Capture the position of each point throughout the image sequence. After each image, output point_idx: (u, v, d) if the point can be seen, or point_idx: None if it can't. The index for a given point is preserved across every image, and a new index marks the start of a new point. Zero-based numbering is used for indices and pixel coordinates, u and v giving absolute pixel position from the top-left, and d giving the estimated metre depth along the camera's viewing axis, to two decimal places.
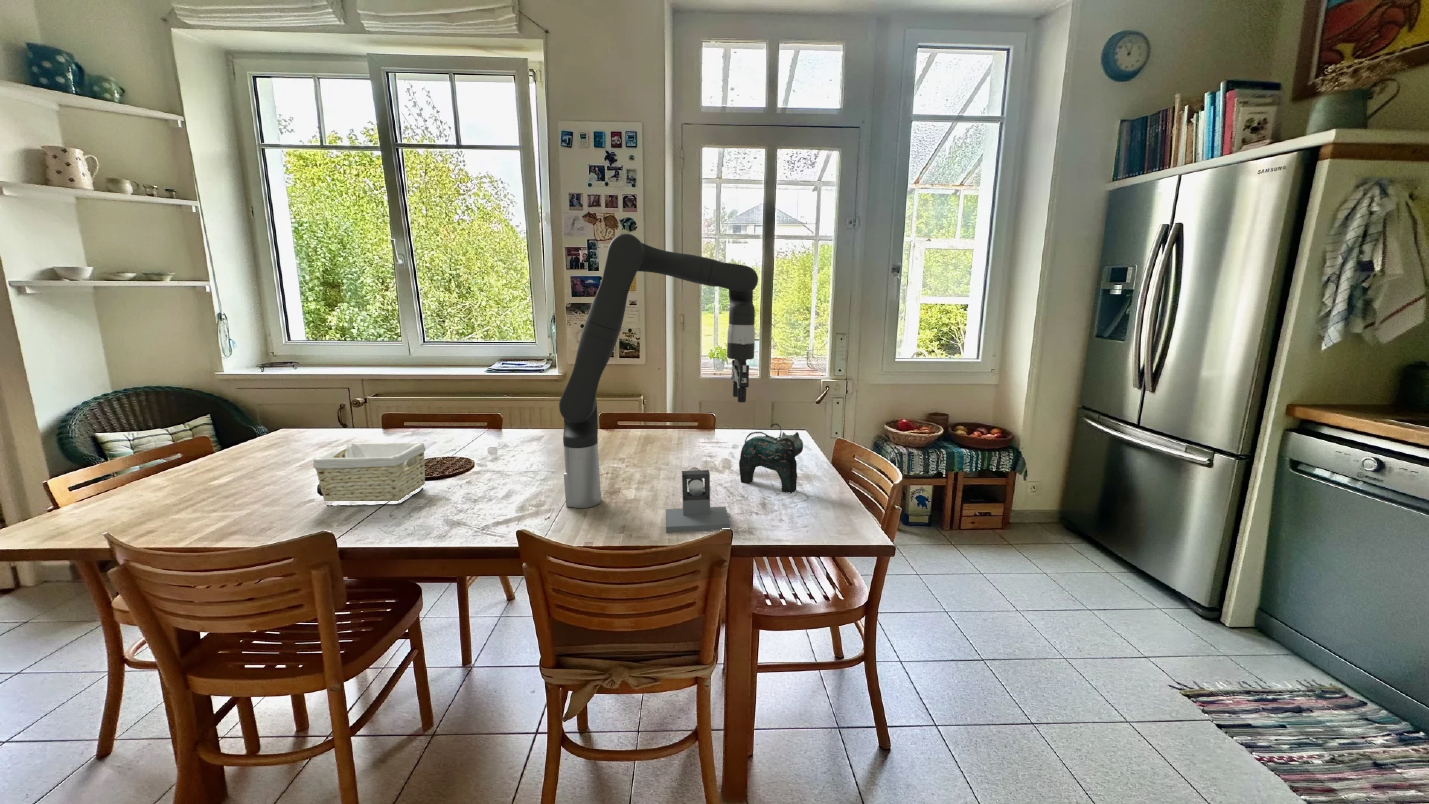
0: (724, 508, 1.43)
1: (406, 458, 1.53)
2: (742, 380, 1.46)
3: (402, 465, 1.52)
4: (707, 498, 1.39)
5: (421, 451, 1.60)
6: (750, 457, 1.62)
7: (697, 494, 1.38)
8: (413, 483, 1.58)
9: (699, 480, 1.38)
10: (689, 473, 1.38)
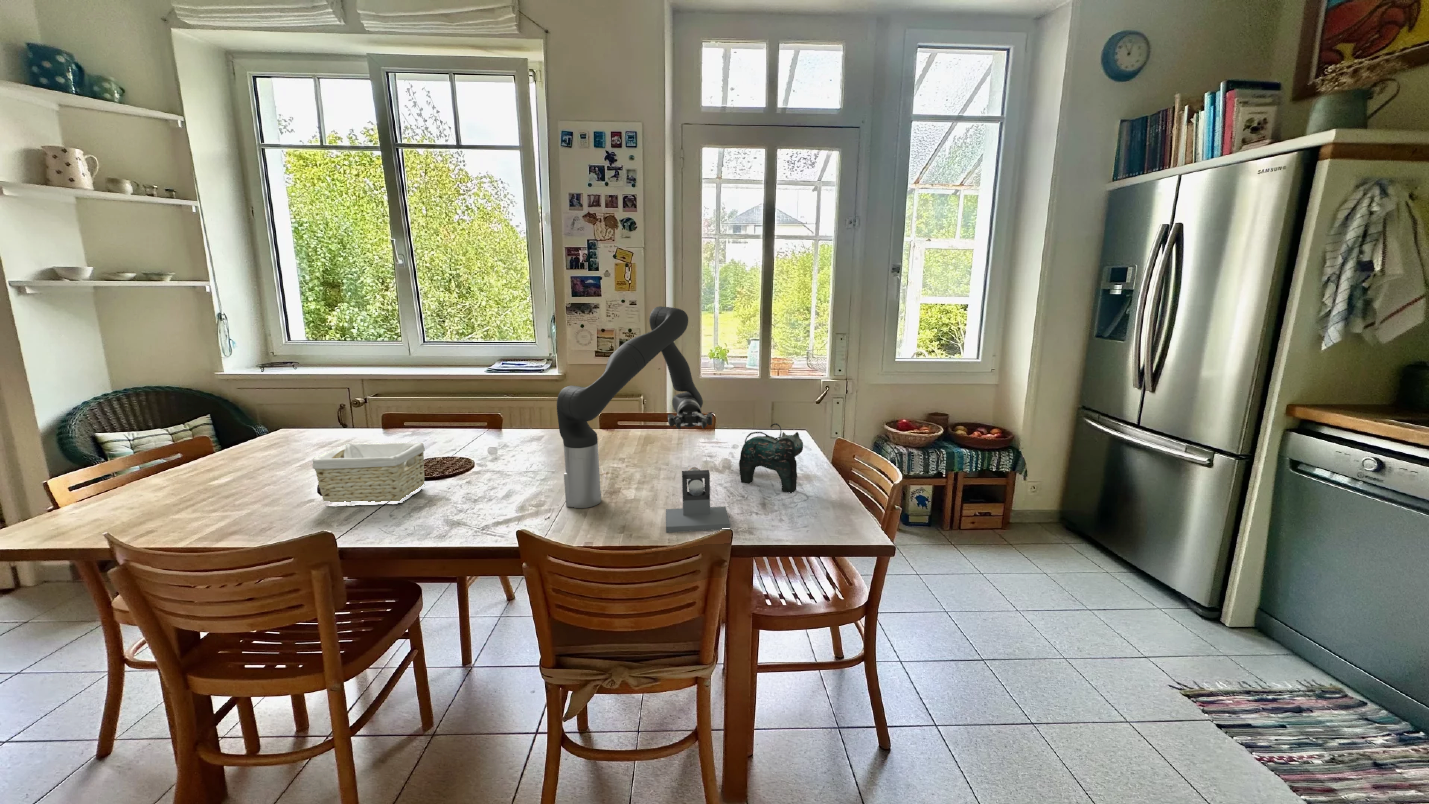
0: (724, 508, 1.43)
1: (406, 458, 1.53)
2: (701, 420, 1.63)
3: (402, 465, 1.52)
4: (707, 498, 1.39)
5: (421, 451, 1.60)
6: (750, 457, 1.62)
7: (697, 494, 1.38)
8: (413, 483, 1.58)
9: (699, 480, 1.38)
10: (689, 473, 1.38)
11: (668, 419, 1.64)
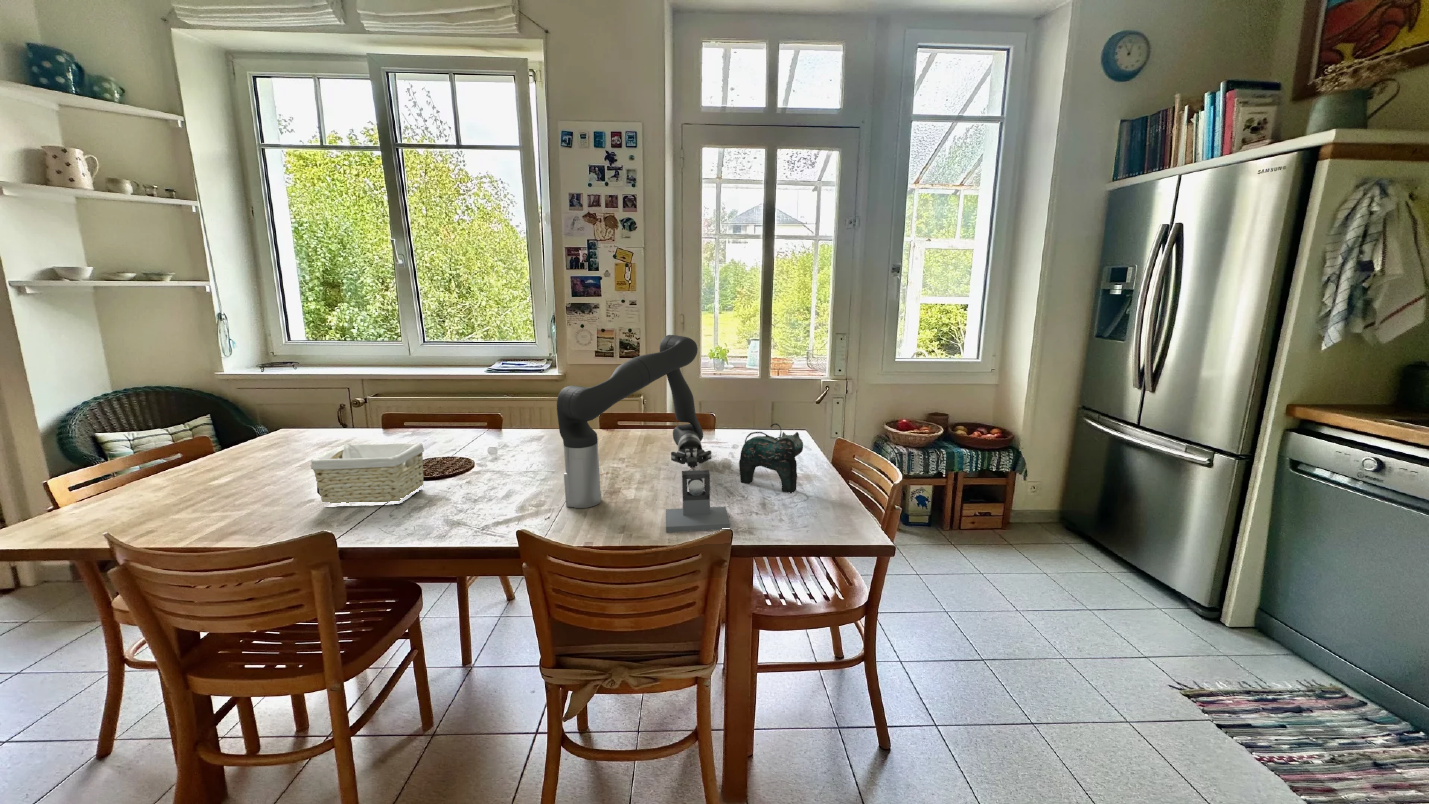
0: (724, 508, 1.43)
1: (405, 458, 1.52)
2: None
3: (401, 465, 1.51)
4: (707, 498, 1.39)
5: (420, 451, 1.60)
6: (750, 457, 1.62)
7: (697, 494, 1.38)
8: (412, 484, 1.58)
9: (699, 480, 1.38)
10: (689, 473, 1.38)
11: (673, 457, 1.63)
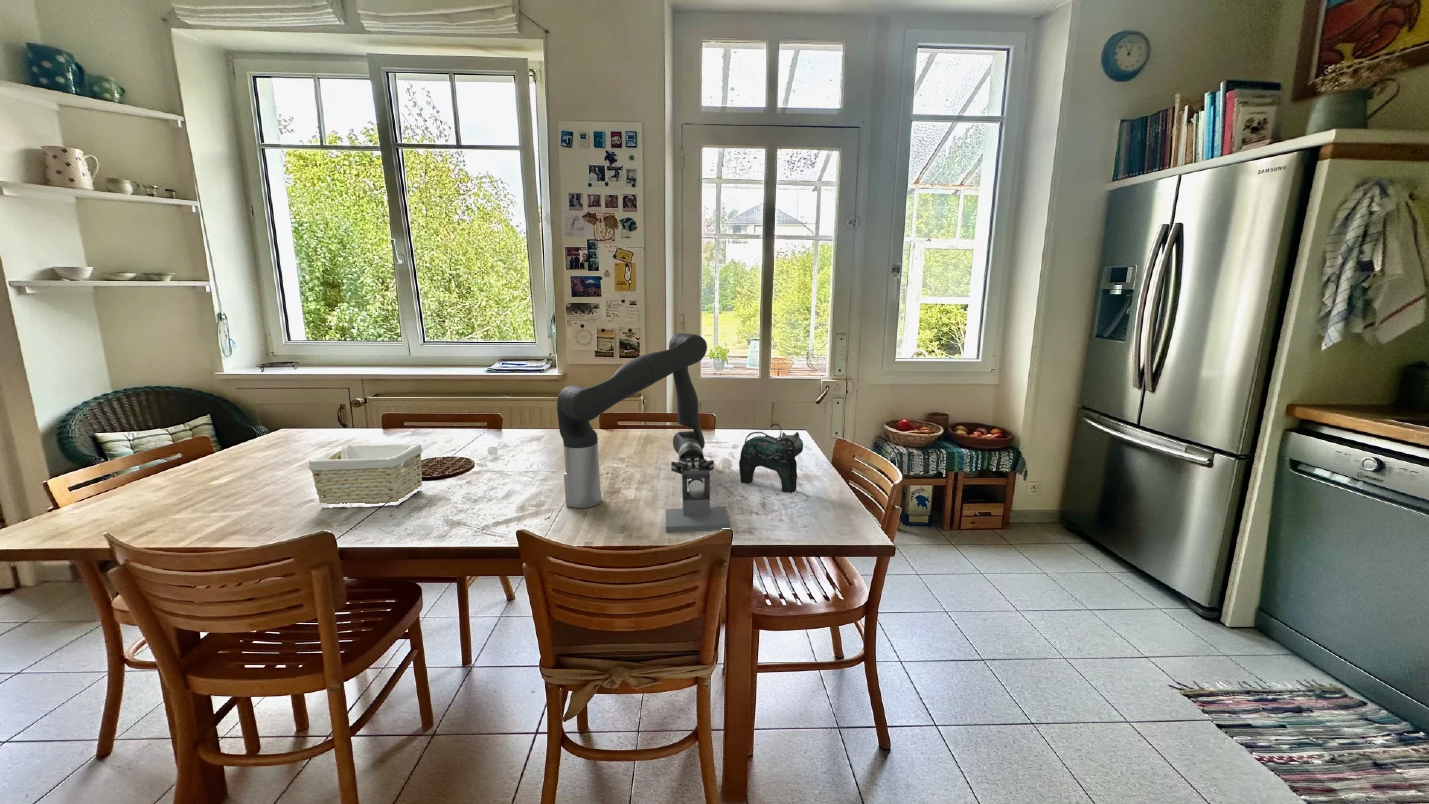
0: (724, 508, 1.43)
1: (403, 459, 1.52)
2: None
3: (399, 466, 1.50)
4: (707, 498, 1.39)
5: (418, 452, 1.59)
6: (750, 457, 1.62)
7: (697, 496, 1.36)
8: (410, 485, 1.57)
9: (699, 482, 1.37)
10: (689, 473, 1.38)
11: (674, 468, 1.54)
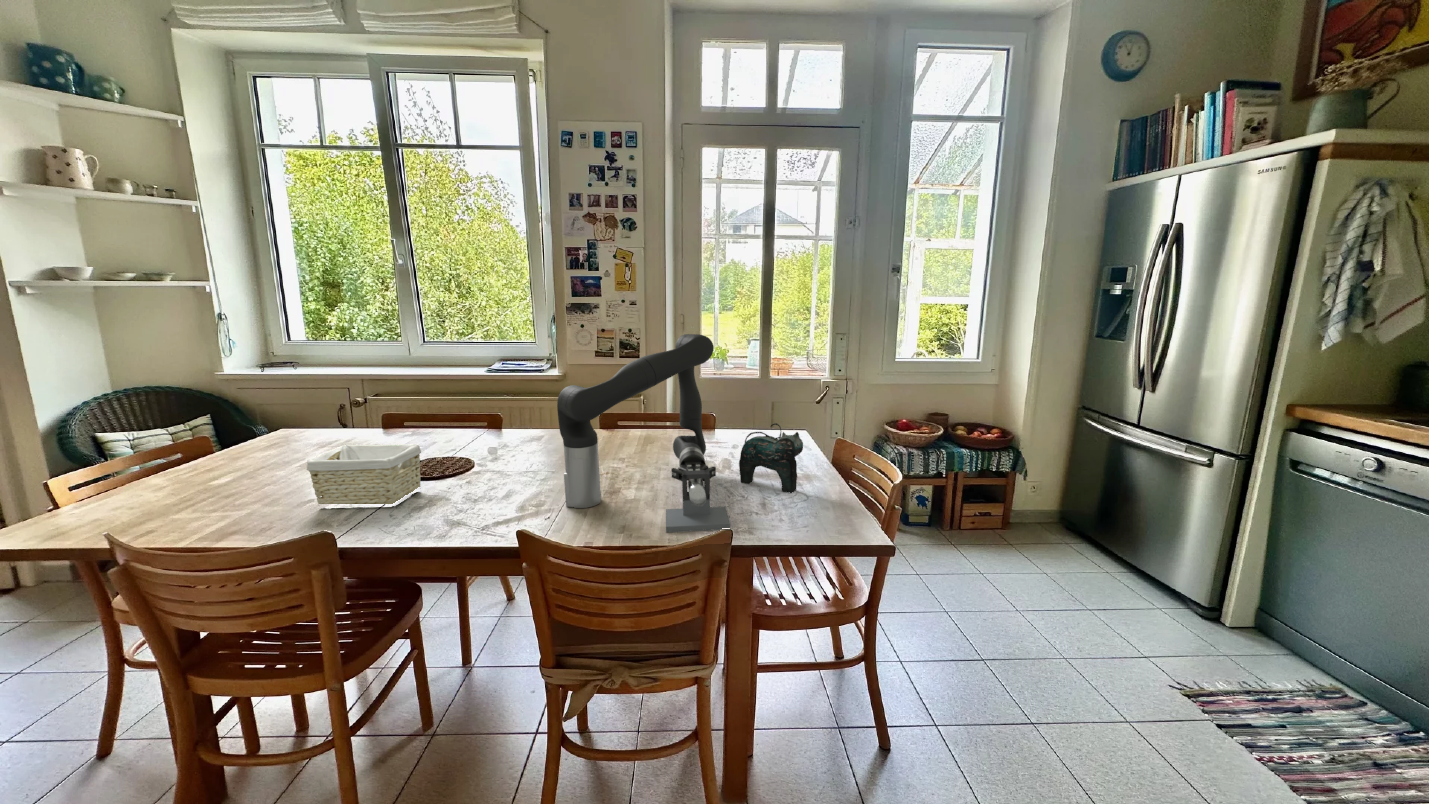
0: (724, 508, 1.43)
1: (401, 460, 1.51)
2: None
3: (396, 467, 1.49)
4: (707, 498, 1.39)
5: (416, 453, 1.58)
6: (750, 457, 1.62)
7: (699, 505, 1.31)
8: (408, 486, 1.56)
9: (701, 490, 1.31)
10: (689, 473, 1.38)
11: (674, 474, 1.48)
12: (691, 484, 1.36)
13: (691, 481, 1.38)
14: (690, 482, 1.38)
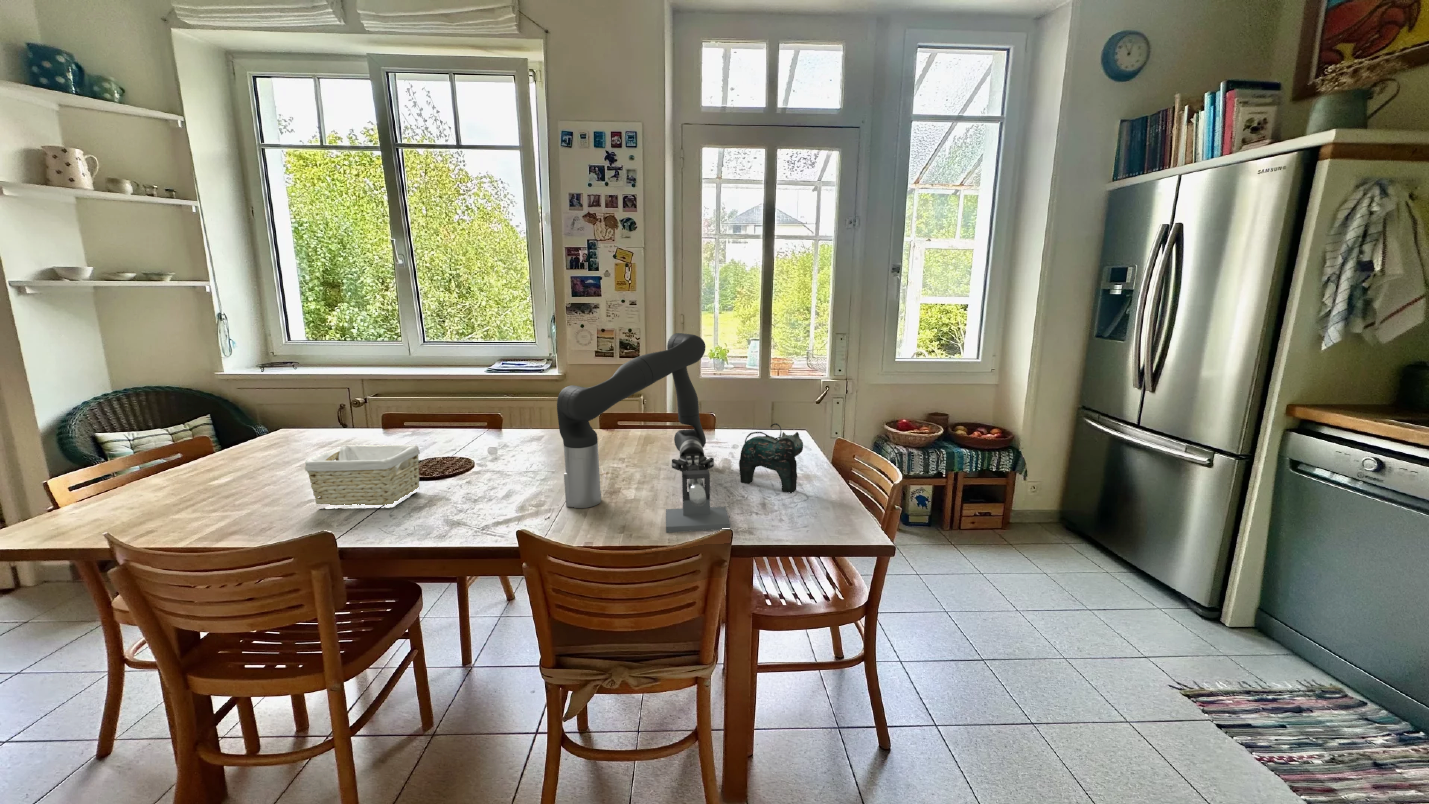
0: (724, 508, 1.43)
1: (399, 461, 1.50)
2: None
3: (394, 468, 1.49)
4: (707, 498, 1.39)
5: (415, 454, 1.58)
6: (750, 457, 1.62)
7: (699, 505, 1.31)
8: (406, 486, 1.55)
9: (701, 490, 1.31)
10: (689, 473, 1.38)
11: (674, 465, 1.56)
12: (691, 484, 1.36)
13: (691, 481, 1.38)
14: (690, 482, 1.38)
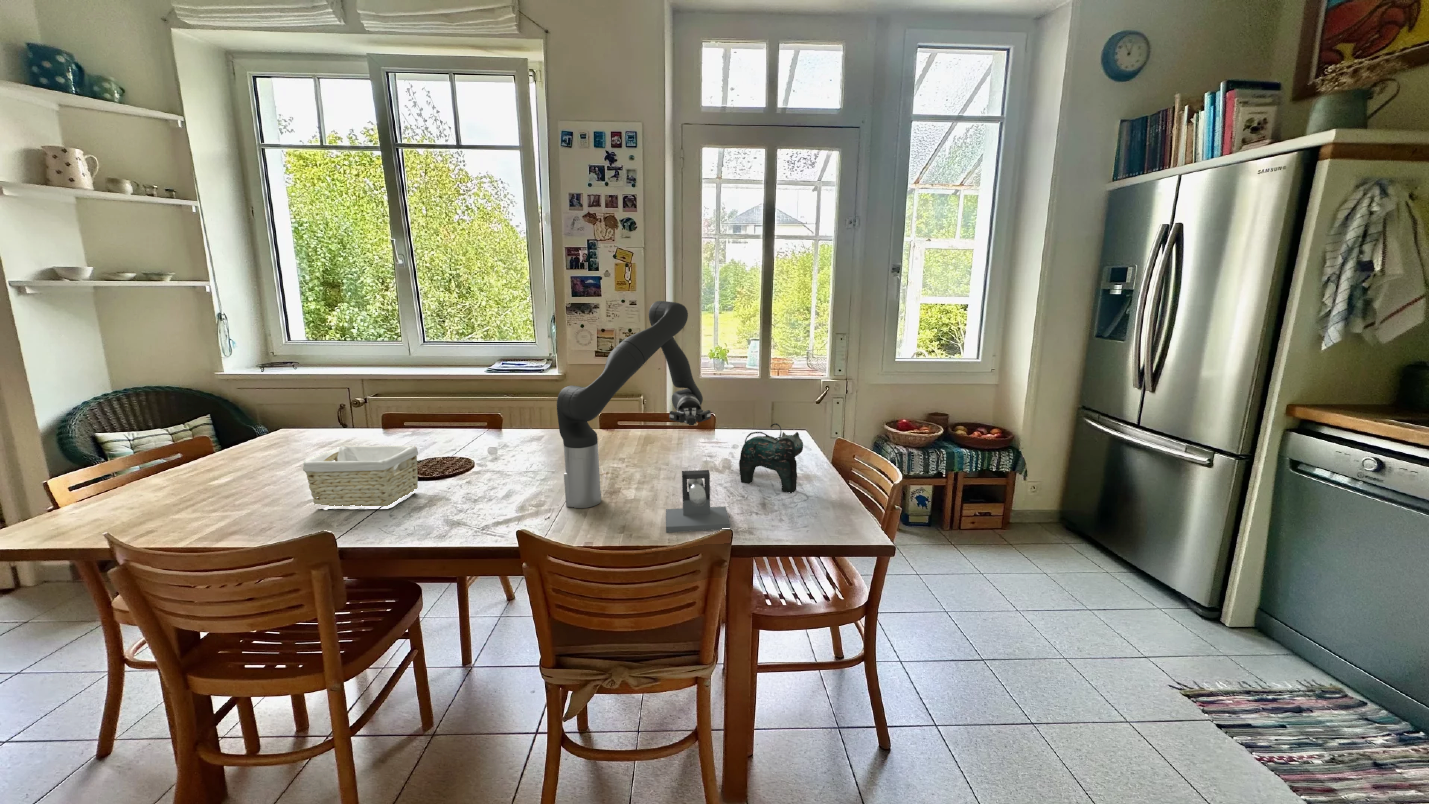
0: (724, 508, 1.43)
1: (396, 462, 1.49)
2: None
3: (392, 469, 1.48)
4: (707, 498, 1.39)
5: (413, 455, 1.57)
6: (750, 457, 1.62)
7: (699, 505, 1.31)
8: (404, 487, 1.55)
9: (701, 490, 1.31)
10: (689, 473, 1.38)
11: (672, 416, 1.60)
12: (691, 484, 1.36)
13: (691, 481, 1.38)
14: (690, 482, 1.38)
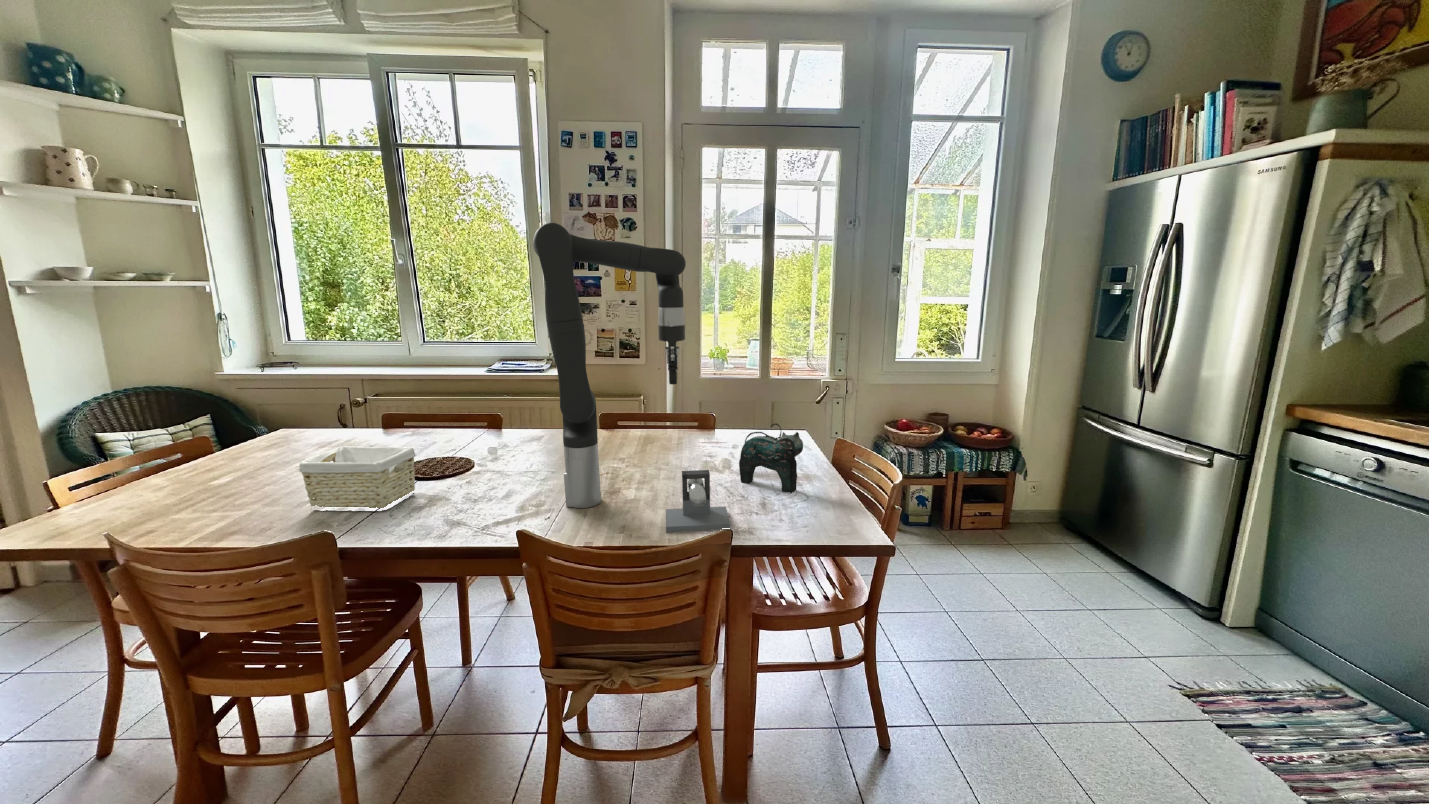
0: (724, 508, 1.43)
1: (391, 464, 1.48)
2: None
3: (387, 471, 1.47)
4: (707, 498, 1.39)
5: (410, 456, 1.55)
6: (750, 457, 1.62)
7: (699, 505, 1.31)
8: (400, 489, 1.53)
9: (701, 490, 1.31)
10: (689, 473, 1.38)
11: None
12: (691, 484, 1.36)
13: (691, 481, 1.38)
14: (690, 482, 1.38)
